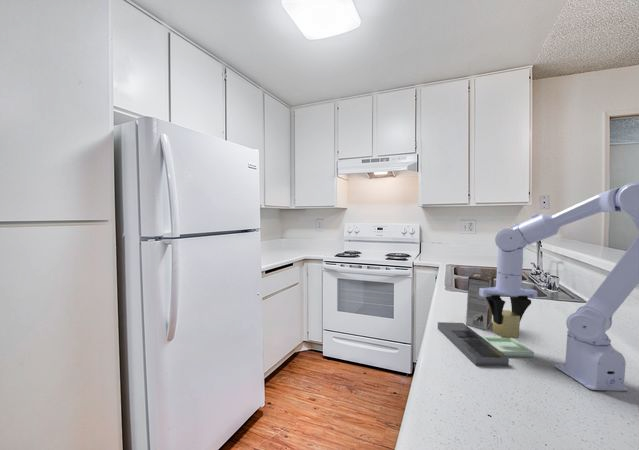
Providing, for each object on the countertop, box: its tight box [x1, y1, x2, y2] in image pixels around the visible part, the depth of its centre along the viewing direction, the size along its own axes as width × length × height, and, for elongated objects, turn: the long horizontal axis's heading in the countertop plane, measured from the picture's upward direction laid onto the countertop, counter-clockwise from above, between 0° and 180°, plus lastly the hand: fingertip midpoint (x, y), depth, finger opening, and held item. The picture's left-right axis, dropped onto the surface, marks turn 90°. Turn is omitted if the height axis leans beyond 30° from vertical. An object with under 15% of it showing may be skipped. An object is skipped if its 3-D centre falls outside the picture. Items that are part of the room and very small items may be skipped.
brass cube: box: [491, 309, 521, 339], centre depth 79 cm, size 4×4×6 cm
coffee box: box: [465, 272, 495, 331], centre depth 97 cm, size 9×6×16 cm
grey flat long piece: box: [437, 321, 510, 367], centre depth 81 cm, size 22×8×2 cm, turn 1°
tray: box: [480, 335, 535, 358], centre depth 79 cm, size 9×9×1 cm
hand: (506, 323), depth 79 cm, fingers closed on brass cube, 4 cm apart
